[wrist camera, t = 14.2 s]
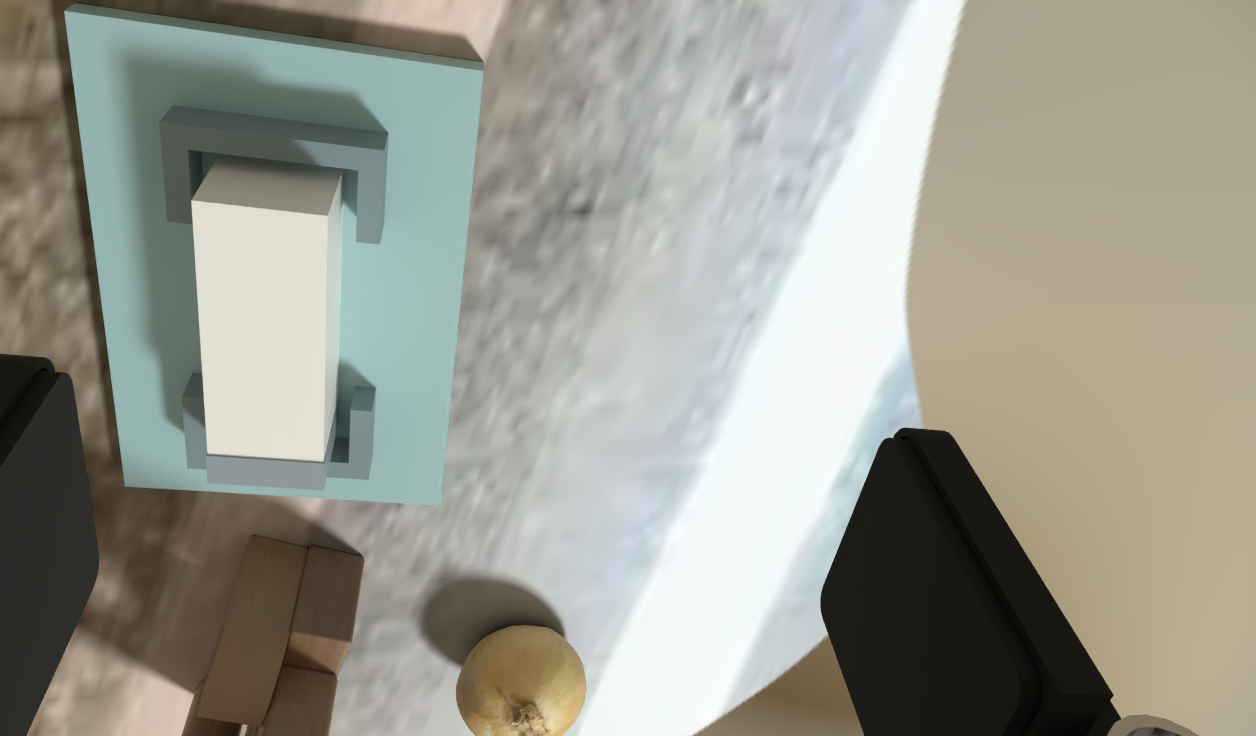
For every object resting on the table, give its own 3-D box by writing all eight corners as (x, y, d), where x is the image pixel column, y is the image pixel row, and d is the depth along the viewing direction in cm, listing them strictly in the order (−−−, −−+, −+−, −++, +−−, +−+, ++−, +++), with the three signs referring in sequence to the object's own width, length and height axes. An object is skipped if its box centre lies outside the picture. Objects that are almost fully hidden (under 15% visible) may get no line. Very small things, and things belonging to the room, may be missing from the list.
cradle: (75, 3, 39) (44, 24, 36) (483, 62, 42) (483, 86, 39) (132, 471, 52) (112, 512, 49) (441, 490, 55) (438, 530, 52)
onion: (603, 663, 64) (613, 759, 59) (495, 705, 66) (495, 803, 60) (548, 589, 60) (554, 685, 54) (434, 635, 61) (427, 734, 55)
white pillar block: (220, 150, 41) (189, 201, 37) (345, 166, 42) (328, 217, 38) (232, 416, 49) (207, 483, 45) (338, 423, 50) (323, 490, 46)
